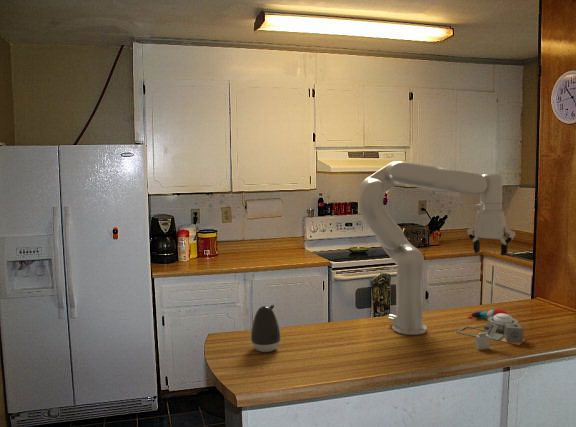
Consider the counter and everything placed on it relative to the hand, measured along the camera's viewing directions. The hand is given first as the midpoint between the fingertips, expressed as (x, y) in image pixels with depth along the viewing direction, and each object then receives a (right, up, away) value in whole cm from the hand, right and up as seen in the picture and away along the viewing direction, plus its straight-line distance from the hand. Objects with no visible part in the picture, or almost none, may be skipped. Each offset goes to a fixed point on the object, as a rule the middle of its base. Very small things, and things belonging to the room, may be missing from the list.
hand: (490, 253), depth 180 cm
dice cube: (+4, -29, -10) cm, 31 cm away
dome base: (+6, -28, +2) cm, 29 cm away
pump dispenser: (-82, -32, -13) cm, 89 cm away
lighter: (-8, -31, -16) cm, 35 cm away
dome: (+6, -27, +2) cm, 27 cm away
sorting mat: (-2, -29, -5) cm, 30 cm away
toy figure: (+5, -28, +13) cm, 31 cm away
